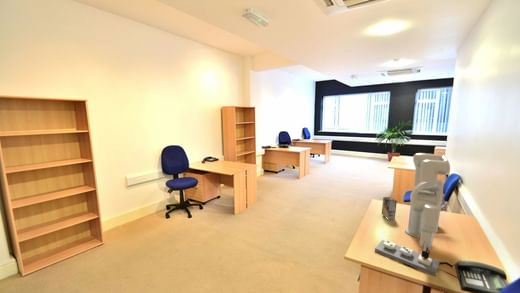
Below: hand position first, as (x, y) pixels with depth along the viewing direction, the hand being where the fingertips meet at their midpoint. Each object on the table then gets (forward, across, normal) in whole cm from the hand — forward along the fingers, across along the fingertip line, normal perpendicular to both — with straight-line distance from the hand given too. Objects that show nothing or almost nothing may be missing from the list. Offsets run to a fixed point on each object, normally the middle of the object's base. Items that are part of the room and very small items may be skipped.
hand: (424, 257), depth 126 cm
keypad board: (+4, +1, -9) cm, 10 cm away
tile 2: (+3, +1, -18) cm, 18 cm away
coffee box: (+6, -52, -33) cm, 62 cm away
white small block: (+3, +1, -9) cm, 9 cm away
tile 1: (+4, +1, 0) cm, 4 cm away
